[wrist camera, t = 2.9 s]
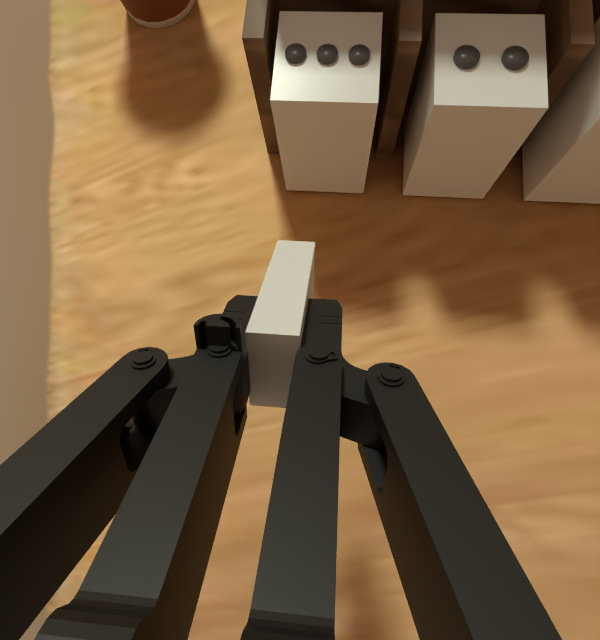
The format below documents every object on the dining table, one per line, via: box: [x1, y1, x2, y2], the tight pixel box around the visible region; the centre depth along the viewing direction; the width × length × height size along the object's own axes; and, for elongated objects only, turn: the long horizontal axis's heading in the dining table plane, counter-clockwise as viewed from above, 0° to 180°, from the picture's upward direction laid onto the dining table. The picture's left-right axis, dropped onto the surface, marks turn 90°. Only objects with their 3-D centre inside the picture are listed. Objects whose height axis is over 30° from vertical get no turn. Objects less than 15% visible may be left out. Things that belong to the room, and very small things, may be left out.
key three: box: [270, 11, 383, 193], centre depth 29 cm, size 6×6×10 cm
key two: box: [403, 13, 548, 199], centre depth 29 cm, size 6×6×10 cm
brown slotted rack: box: [242, 0, 600, 161], centre depth 27 cm, size 28×8×17 cm, turn 85°
